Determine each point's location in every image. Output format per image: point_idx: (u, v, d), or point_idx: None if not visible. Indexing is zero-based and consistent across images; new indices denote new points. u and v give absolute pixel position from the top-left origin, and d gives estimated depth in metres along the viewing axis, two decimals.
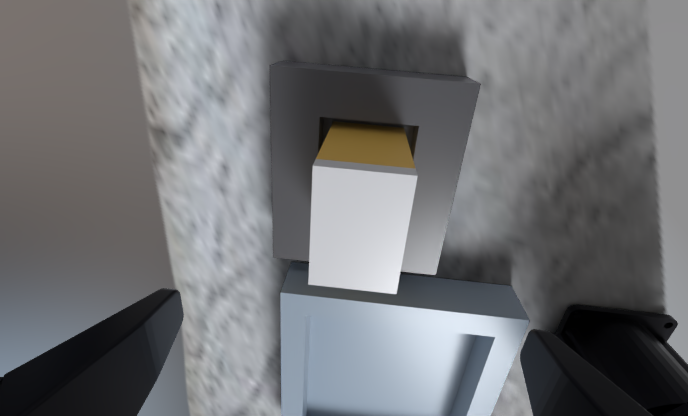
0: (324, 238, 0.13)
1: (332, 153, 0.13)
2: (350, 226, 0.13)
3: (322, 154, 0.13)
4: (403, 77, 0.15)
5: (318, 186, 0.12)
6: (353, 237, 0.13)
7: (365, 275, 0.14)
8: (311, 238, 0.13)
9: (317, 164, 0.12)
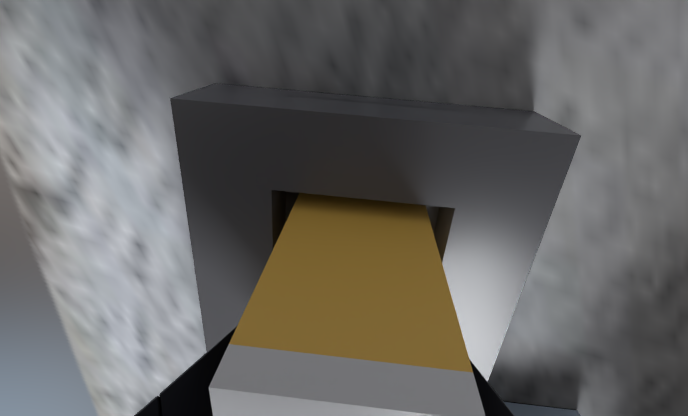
0: None
1: (275, 309, 0.06)
2: None
3: (251, 317, 0.06)
4: (428, 122, 0.08)
5: None
6: None
7: None
8: None
9: (223, 378, 0.05)
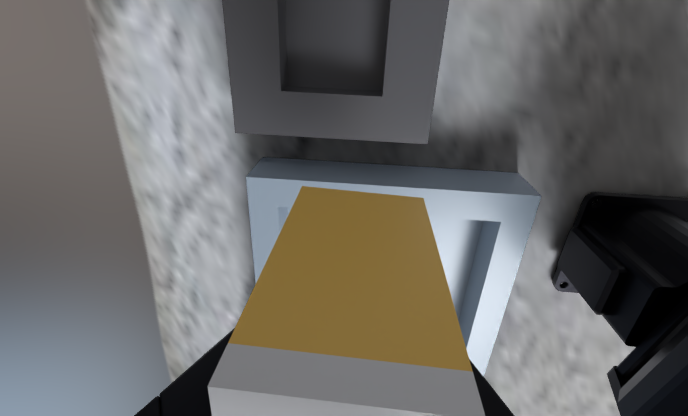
0: None
1: (274, 309, 0.06)
2: None
3: (251, 316, 0.06)
4: None
5: None
6: None
7: None
8: None
9: (222, 377, 0.05)
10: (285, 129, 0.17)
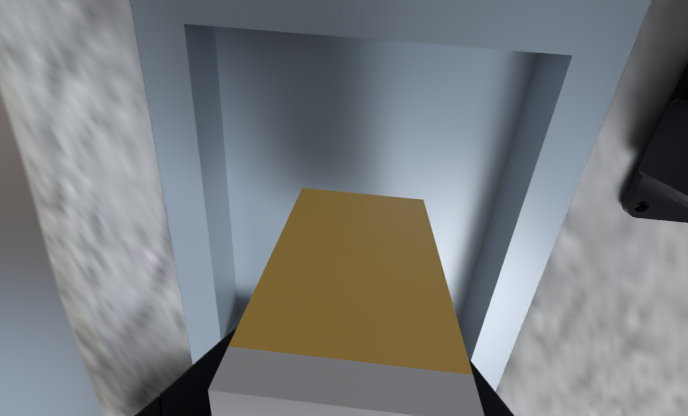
0: None
1: (275, 311, 0.06)
2: None
3: (251, 319, 0.06)
4: None
5: None
6: None
7: None
8: None
9: (223, 381, 0.05)
10: None
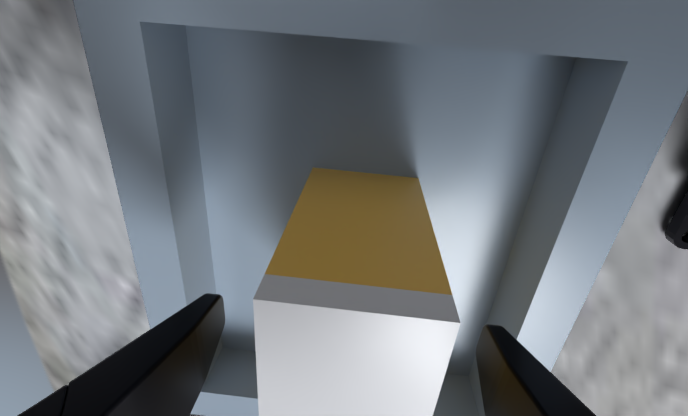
0: (283, 407, 0.07)
1: (298, 253, 0.07)
2: (330, 393, 0.07)
3: (280, 258, 0.07)
4: None
5: (265, 332, 0.06)
6: (336, 409, 0.07)
7: None
8: (261, 406, 0.07)
9: (263, 294, 0.06)
10: None
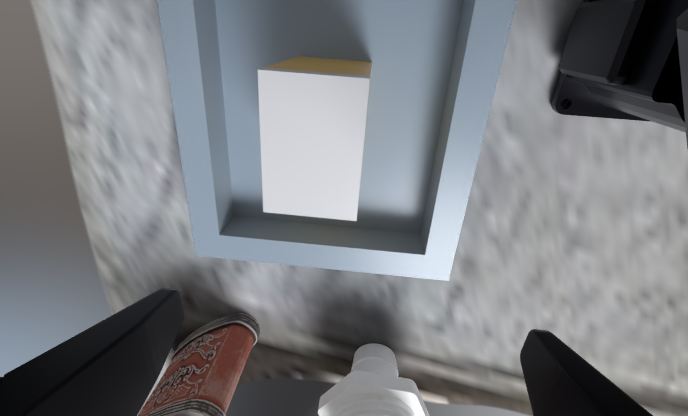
0: (276, 156, 0.12)
1: (284, 66, 0.12)
2: (302, 141, 0.12)
3: (273, 66, 0.12)
4: None
5: (264, 93, 0.11)
6: (306, 154, 0.12)
7: (322, 199, 0.13)
8: (262, 157, 0.12)
9: (263, 69, 0.11)
10: None
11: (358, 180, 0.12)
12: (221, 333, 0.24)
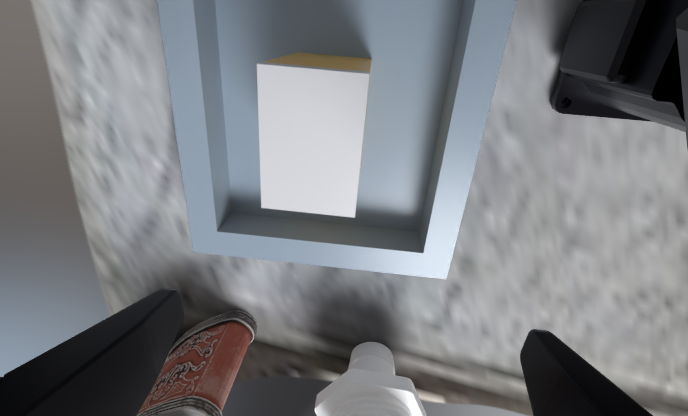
0: (274, 151, 0.12)
1: (283, 61, 0.12)
2: (301, 136, 0.12)
3: (272, 61, 0.12)
4: None
5: (264, 88, 0.11)
6: (305, 150, 0.12)
7: (320, 195, 0.13)
8: (261, 152, 0.12)
9: (262, 63, 0.11)
10: None
11: (357, 176, 0.12)
12: (218, 331, 0.24)
